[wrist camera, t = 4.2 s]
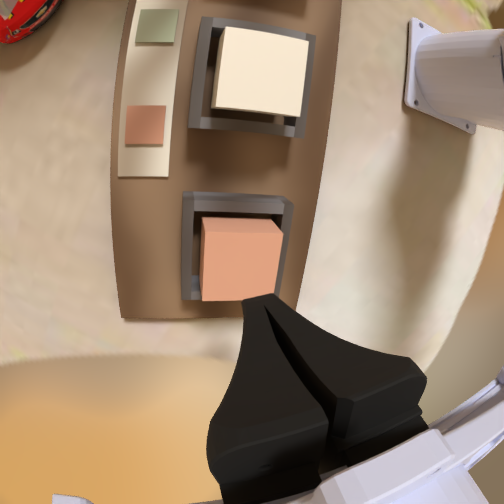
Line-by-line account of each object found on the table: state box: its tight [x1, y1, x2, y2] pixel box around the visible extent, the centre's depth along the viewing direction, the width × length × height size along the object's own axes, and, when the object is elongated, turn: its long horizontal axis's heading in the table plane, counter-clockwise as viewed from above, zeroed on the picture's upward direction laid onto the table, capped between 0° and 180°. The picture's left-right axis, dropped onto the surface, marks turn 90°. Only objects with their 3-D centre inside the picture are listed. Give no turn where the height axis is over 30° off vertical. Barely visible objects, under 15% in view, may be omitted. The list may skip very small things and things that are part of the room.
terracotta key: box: [199, 217, 283, 301], centre depth 17 cm, size 4×4×2 cm
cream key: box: [211, 27, 309, 117], centre depth 13 cm, size 4×4×2 cm
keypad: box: [110, 0, 342, 318], centre depth 15 cm, size 13×32×3 cm, turn 174°
